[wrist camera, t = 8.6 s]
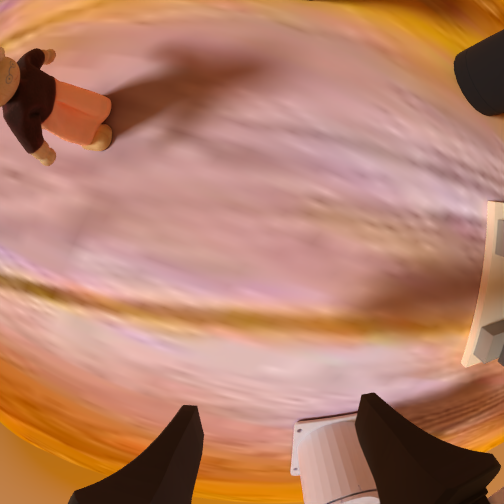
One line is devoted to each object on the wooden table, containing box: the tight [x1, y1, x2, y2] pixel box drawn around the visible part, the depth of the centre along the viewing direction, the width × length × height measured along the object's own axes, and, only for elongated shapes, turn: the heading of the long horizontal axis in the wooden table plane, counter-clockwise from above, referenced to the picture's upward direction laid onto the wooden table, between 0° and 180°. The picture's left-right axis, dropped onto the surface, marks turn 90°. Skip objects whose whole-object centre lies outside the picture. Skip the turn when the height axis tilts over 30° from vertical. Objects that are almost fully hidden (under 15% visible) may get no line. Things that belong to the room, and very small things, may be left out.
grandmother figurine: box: [0, 47, 112, 166], centre depth 11 cm, size 8×4×13 cm, turn 20°
